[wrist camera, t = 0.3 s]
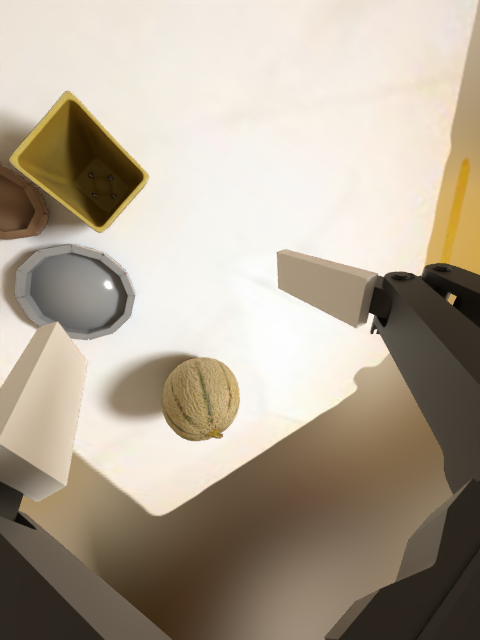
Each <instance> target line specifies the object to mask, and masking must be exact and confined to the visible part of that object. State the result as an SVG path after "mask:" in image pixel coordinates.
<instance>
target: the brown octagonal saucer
mask: <svg viewBox="0 0 480 640" xmlns="http://www.w3.org/2000/svg"><path fill="white" fill-rule="evenodd" d="M48 213H49V212H48V209H47V205H46V203H45V201H44V199H43V197H42V196H41V194H40V193H39V192H38V190H37V188H36V187H34V185H33V184H31V183H29V182H28V181H26V180H25V179H23V178H22V177H20V176H18V175H16V174H14V173H13V172H11V171H9V170H8V169H6V168H4V167H2V166H0V239H5V240H9V239H17V238H24V237H31V236H37V235H38V234H40V233H41V231H42V230H43V229H44V228H45V226H46V224H47V222H48V216H49V215H48Z"/></svg>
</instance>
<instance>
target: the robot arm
mask: <svg viewBox="0 0 480 640" xmlns="http://www.w3.org/2000/svg"><path fill="white" fill-rule="evenodd" d="M277 267H278V288H279V289H281V290H283V291H285V292H287V293H289V294H290V295H292V296H294V297H296V298H298V299H300V300H302V301H304V302H306V303H308V304H310V305H312V306H314V307H316V308H318V309H320V310H322V311H324V312H326V313H328V314H329V315H331V316H333V317H335V318H337V319H339V320H341V321H343V322H345V323H347V324H349V325H351V326H353V327H355V328H358V327H360V326H362V325H364V324H365V323H367V318H368V314H369V313H371V314H374V319H373V323H372V327H371V331H370V333H371V334H373V332H374V330H375V329H377V333H376V334H380V335H381V337H382V339H383V341H384V342H385V344H386V346H387V348H388V350H389V352H390V354H391V355H392V357H393V359H394V361H395V363H396V365H397V367H398V368H399V370H400V372H401V374H402V375H403V378H404V379H405V381H406V383H407V385H408V387H409V389H410V391H411V393H412V394H413V396H414V398H415V400H416V402H417V404H418V406H419V407H420V409H421V411H422V413H423V415H424V417H425V419H426V421H427V422H428V424H429V426H430V428H431V430H432V432H433V434H434V435H435V437H436V439H437V441H438V443H439V445H440V447H441V449H442V451H443V455H444V472H445V476H446V479H447V482H448V484H449V487H450V489H451V491H452V493H453V496H451V497H450V498H449V499H448V500H447V501H446V502H444V503H443V504H442V505H441V506H440V507H439V508H437V509H436V510H435V511H434V512H433V513H432V514H430V516H429V517H428V518H427V519H426V520H425V521H424V522H423V523H422V525H421V526H420V527H419V528H418V529H417V530H416V532H415V533H414V534H413V535H412V536H411V537H410V539H409V540H408V543H407V546H406V549H405V552H404V556H403V559H402V563H401V566H400V569H399V572H398V576H397V579H396V581H395V583H393V584H390V585H389V586H386V587H384V588H381V589H379V590H377V591H375V592H373V593H371V594H369V595H367V596H365V597H363V598H361V599H359V600H357V601H355V602H354V604H353V605H352V606H351V607H350V608H349V609H348V610H347V612H346V613H345V614H344V615H343V616H342V617H341V619H340V620H339V621H338V622H337V623H336V624H335V625H334V627H333V628H332V629H331V630H330V631H329V632H328V634H327V635H326V636H325V637H324V638H325V640H480V275H478V274H475V273H472V272H470V271H467V270H464V269H462V268H459V267H456V266H452V265H450V264H445V263H437V264H430V265H427V266H425V268H424V270H423V273H422V276H416V275H414V274H412V273H407V272H390V273H387V274H386V275H385V276H384V277H382V276H378V273H374V272H370V271H366V270H362V269H359V268H355V267H351V266H347V265H343V264H340V263H336V262H332V261H328V260H324V259H320V258H317V257H313V256H309V255H305V254H301V253H298V252H294V251H290V250H286V249H285V250H282V251H279V252H277ZM450 294H453V295H455V296H457V298H456V299H455V302H454V304H453V306H452V305H451V304H450V303H449V302H447V301H448V298H449V296H450ZM87 366H88V361H87V359H86V358H85V357H84V356H83V354H82V353H81V352H80V350H79V349H78V348H77V346H76V345H75V344H74V342H73V341H72V340H71V338H70V337H69V336H68V334H67V333H66V332H65V330H64V329H63V328H62V327H61V325H60V324H59V323H58V321H57V322H54V323H51V324H48V325H44V326H41V327H39V328H38V329H37V331H36V333H35V334H34V336H33V337H32V339H31V341H30V342H29V344H28V345H27V347H26V349H25V350H24V352H23V353H22V355H21V357H20V358H19V360H18V361H17V363H16V365H15V366H14V368H13V369H12V371H11V373H10V374H9V376H8V377H7V379H6V381H5V382H4V384H3V385H2V387H1V388H0V640H172V639H171V638H170V637H169V636H167V635H166V634H165V633H164V632H163V631H162V630H160V629H159V628H158V627H157V626H156V625H155V624H153V623H152V622H151V621H150V620H149V619H148V618H147V617H145V616H144V615H143V614H142V613H141V612H140V611H138V610H137V609H136V608H135V607H134V606H133V605H131V604H130V603H129V602H128V601H127V600H126V599H124V598H123V597H122V596H121V595H120V594H119V593H117V592H116V591H115V590H114V589H113V588H111V587H110V586H109V585H108V584H107V583H106V582H105V581H103V580H102V579H101V578H100V577H99V576H98V575H97V574H95V573H94V572H93V571H92V570H91V569H89V568H88V567H87V566H86V565H85V564H84V563H83V562H81V561H80V560H79V559H78V558H77V557H75V556H74V555H73V554H72V553H71V552H70V551H69V550H67V549H66V548H65V547H64V546H63V545H62V544H60V543H59V542H58V541H57V540H56V539H55V538H54V537H52V536H51V535H50V534H49V533H48V532H46V531H45V530H44V529H43V528H42V527H41V526H40V525H38V524H37V523H36V522H35V521H34V520H33V519H31V518H30V517H29V516H28V515H27V514H25V513H23V512H20V511H18V510H19V507H20V504H21V500H22V497H23V495H24V496H26V497H28V498H30V499H32V500H34V501H36V502H39V501H40V500H42V499H44V498H46V497H48V496H50V495H51V494H53V493H55V492H57V491H59V490H61V489H62V488H64V487H66V485H67V480H68V473H69V468H70V462H71V457H72V451H73V446H74V440H75V434H76V429H77V423H78V417H79V411H80V406H81V400H82V394H83V389H84V383H85V377H86V372H87Z"/></svg>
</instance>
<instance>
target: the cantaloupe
mask: <svg viewBox="0 0 480 640" xmlns="http://www.w3.org/2000/svg"><path fill="white" fill-rule="evenodd" d="M239 399H240V398H239V388H238V383H237V380H236V378H235V376H234V374H233V373H232V371H231V370H230V369H229V368H228V367H227V366H226V365H225V364H224V363H222V362H220V361H218V360H215V359H211V358H205V357H204V358H194V359H189V360H186V361H185V362H183V363H181V364H180V365H179V366H177V367H176V368H175V369H174V370H173V371H172V372H171V373H170V375H169V376H168V378H167V380H166V382H165V384H164V388H163V393H162V410H163V414H164V417H165V419H166V422H167V423H168V425H169V426H170V427H171V428H172V429H173V431H174V432H175V433H176V434H177V435H179V436H180V437H182V438H184V439H186V440H190V441H201V440H208V439H210V438H212V437H214V438H222V437H223V434H220V433H222V432H223V431H225V430H226V429H227V428H228V427H229V426H230V425H231V424H232V422H233V421H234V419H235V417H236V415H237V413H238V408H239V402H240V400H239Z"/></svg>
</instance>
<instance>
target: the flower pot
mask: <svg viewBox="0 0 480 640" xmlns="http://www.w3.org/2000/svg"><path fill="white" fill-rule="evenodd" d="M9 162H10V163H11V164H12V165H13V166H14V167H15V168H16V169H17V170H18V171H20V172H21V173H22V174H24V175H25V176H26V177H28V178H29V179H30V180H31V181H33V182H34V183H35V184H37V185H38V186H39V187H40V188H42V189H43V190H44V191H46V192H47V193H48V194H49V195H51V196H52V197H53V198H54V199H56V200H57V201H58V202H59V203H61V204H62V205H63V206H65V207H66V208H67V209H68V210H70V211H71V212H72V213H73V214H75V215H76V216H77V217H79V218H80V219H81V220H82V221H83V222H85V223H86V224H87V225H88V226H90V227H91V228H92V229H94V230H95V231H96V232H99V233H102V232H104V231H105V230H106V229H107V228H109V227H110V225H111V224H112V223H113V222H114V221H115V219H116V218H117V217H118V216H119V215H120V214H121V212H122V211H123V210H124V209H125V208H126V207H127V206H128V204H129V203H130V202H131V201H132V200H133V199H134V198H135V197H136V196H137V194H138V193H139V192H140V191H141V190H142V189H143V188H144V186H145V185H146V183H147V182H148V180H149V175H148V173H147V172H146V171H145V170H144V169H143V168H142V167H141V166H140V165H139V164H138V163H137V162H136V161H135V160H134V159H133V158H132V157H131V156H130V155H129V153H128V152H127V151H126V150H125V149H124V148H123V147H122V146H121V145H120V144H119V143H118V142H117V141H116V140H115V139H114V138H113V137H112V136H111V135H110V133H109V132H108V131H107V130H106V129H105V128H104V127H103V126H102V125H101V124H100V123H99V121H98V120H97V119H96V118H95V117H94V116H93V115H92V114H91V113H90V112H89V110H88V109H87V108H86V107H85V106H84V105H83V104H82V103H81V101H80V100H79V99H78V98H77V97H76V96H75V95H74V94H72V93H71V92H69V91H66V92H65V93H63V94H62V96H61V97H60V98H59V100H58V101H57V102H56V103H55V104H54V105H53V106H52V108H51V109H50V110H49V112H48V113H47V114H46V115H45V116H44V118H43V119H42V120H41V121H40V122H39V123H38V125H37V126H36V127H35V128H34V129H33V130H32V131H31V133H30V134H29V135H28V136H27V137H26V139H25V140H24V141H23V142H22V143H21V144H20V145H19V147H18V148H17V149H16V150H15V151H14V152H13V154H12V155H11V157H10V158H9ZM89 173H92V174H93V175H94V177H93V178H90V177H89ZM109 175H111V176H112V177H113V180H110V179H109V178H108V176H109ZM93 193H97V195H98V197H94V196H93ZM113 194H115V195H116V199H113V198H112V195H113Z"/></svg>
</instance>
